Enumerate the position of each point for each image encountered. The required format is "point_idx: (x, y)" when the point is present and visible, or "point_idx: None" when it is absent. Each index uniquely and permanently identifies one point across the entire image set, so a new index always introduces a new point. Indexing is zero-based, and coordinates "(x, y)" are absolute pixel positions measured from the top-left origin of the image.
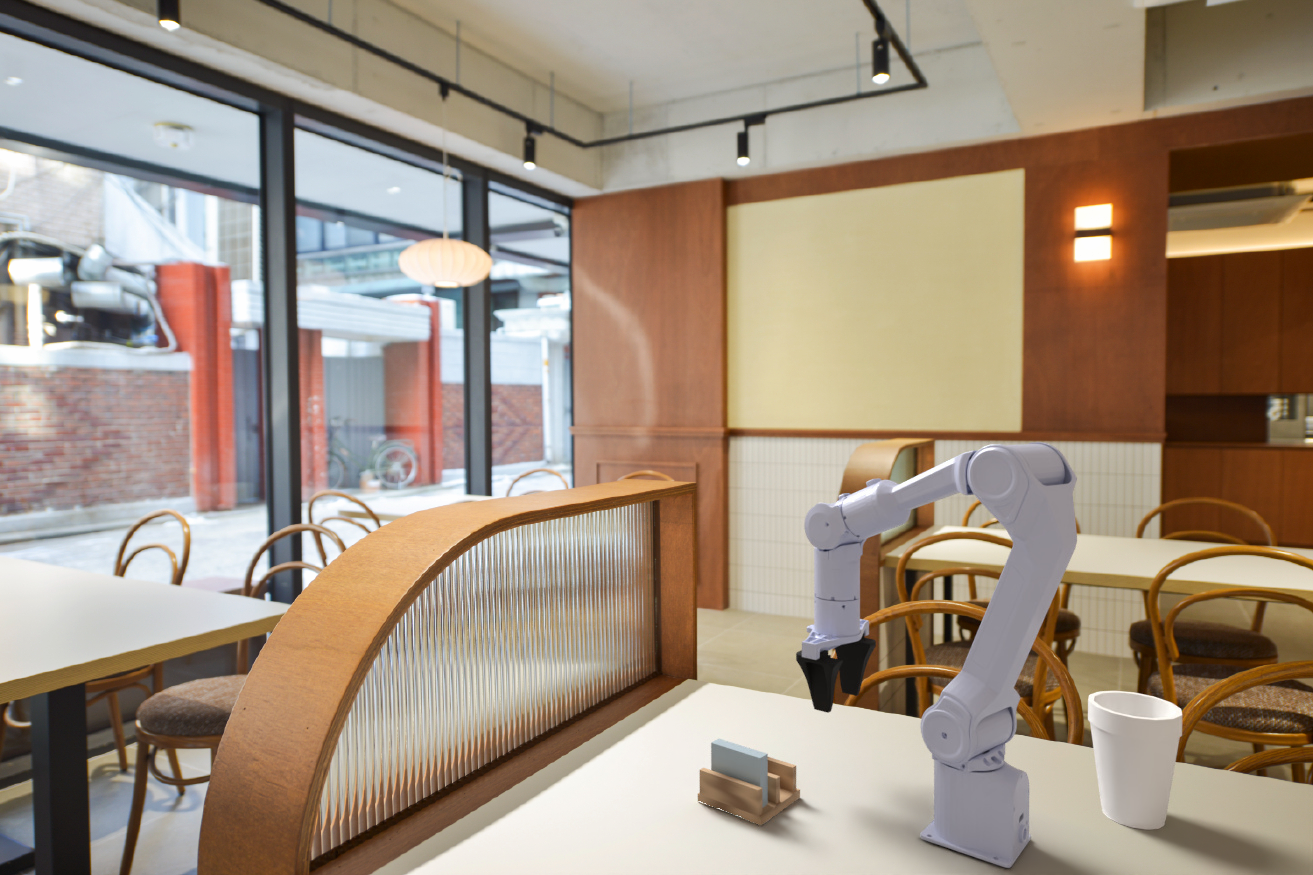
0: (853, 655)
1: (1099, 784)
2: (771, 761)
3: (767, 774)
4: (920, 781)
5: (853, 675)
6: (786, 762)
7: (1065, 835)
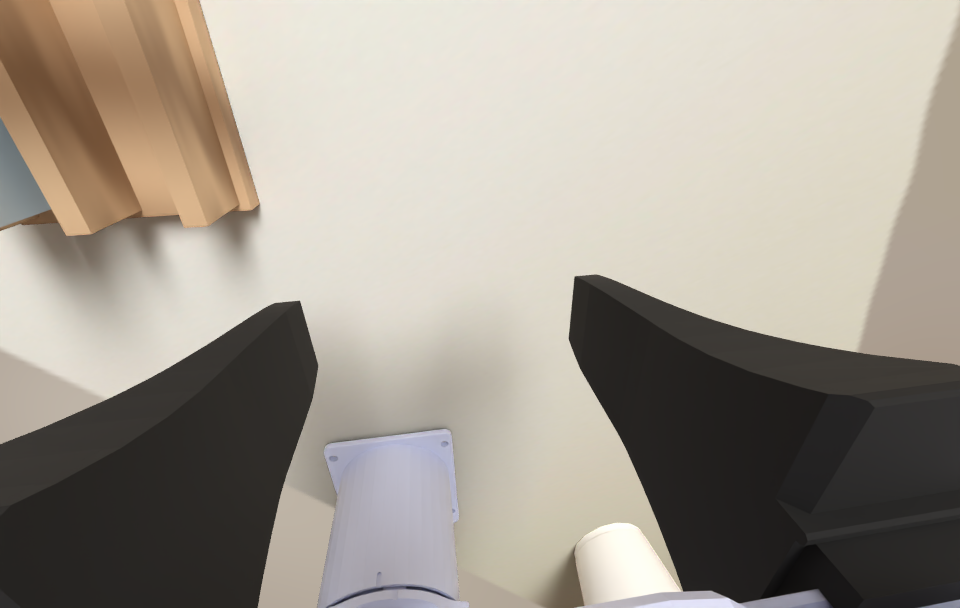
0: (679, 482)
1: (610, 566)
2: (150, 135)
3: (16, 221)
4: (543, 347)
5: (611, 384)
6: (193, 187)
7: (500, 528)
